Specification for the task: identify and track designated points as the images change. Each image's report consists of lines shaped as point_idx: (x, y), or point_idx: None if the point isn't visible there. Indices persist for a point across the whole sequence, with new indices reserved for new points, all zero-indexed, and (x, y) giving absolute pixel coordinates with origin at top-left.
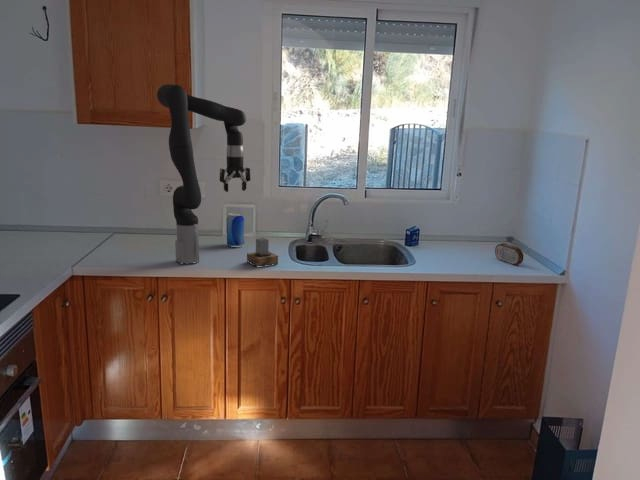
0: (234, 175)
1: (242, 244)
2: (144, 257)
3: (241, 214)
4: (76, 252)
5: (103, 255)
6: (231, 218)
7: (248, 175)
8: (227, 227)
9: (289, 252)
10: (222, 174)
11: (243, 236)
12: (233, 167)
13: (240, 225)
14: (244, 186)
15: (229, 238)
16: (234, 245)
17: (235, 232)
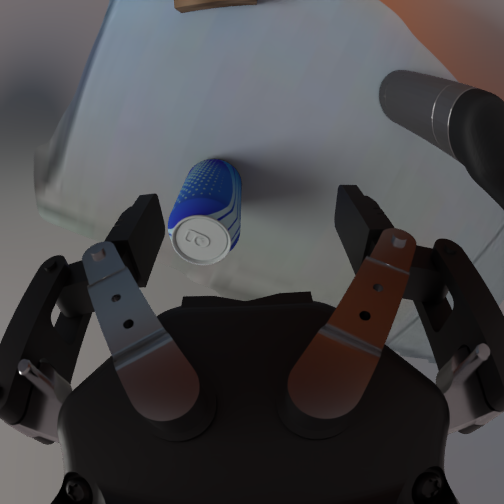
0: (287, 330)
1: (198, 163)
2: (451, 188)
3: (174, 236)
4: (483, 266)
5: (478, 236)
6: (227, 216)
7: (33, 311)
8: (240, 211)
9: (89, 64)
10: (499, 318)
11: (188, 177)
12: (331, 500)
13: (195, 188)
14: (136, 214)
15: (238, 183)
16: (226, 162)
17: (219, 178)
